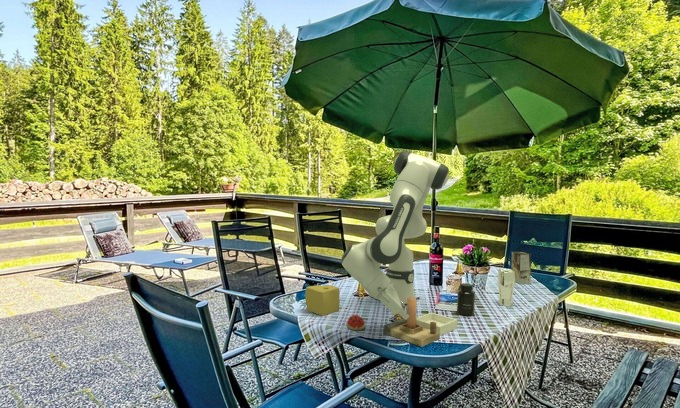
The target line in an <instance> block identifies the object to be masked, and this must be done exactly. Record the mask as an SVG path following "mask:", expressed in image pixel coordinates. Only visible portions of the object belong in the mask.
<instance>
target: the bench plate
mask: <svg viewBox="0 0 680 408" xmlns="http://www.w3.org/2000/svg"><path fill="white" fill-rule="evenodd" d="M382 328H383V329H382V330H383V331H382V333H383V335H385V336H388V337H389V336H392V337H395V338H397V339H400V340H402V341H405V342H407V343H410V344H412V345H415V346H419V347H422V348H423V347H425V346H426V345H429V344H431V343H433V342H436V341H437V340H439V339H440V336H439V333H438V332H436V322H430V330H429V329H425V328H423V326H421V325H418V324H416V328H415V329H410V328H407V320H405V319H404V318H403V317H402V318H400V319H397V320H395V321H392V322H388V323H386V324H384V326H383V327H382Z"/></svg>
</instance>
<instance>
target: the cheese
mask: <svg viewBox="0 0 680 408" xmlns="http://www.w3.org/2000/svg"><path fill="white" fill-rule="evenodd" d="M304 296H305V298H304V299H305V304H306V305H305V307H306V311H307V312H309V311H310V312H309V313H312V312H314V313H313V314H315V313H316V315H318V314H319V316H321V315H322V317H324V316H327V315H329V314H333V313H337V312H339V311H340V297H341V296H340V287H337V286H334V285H330V284H327V285H320V284H319V285H318V284H317V285H310V286H306V288H305V295H304ZM323 315H324V316H323Z"/></svg>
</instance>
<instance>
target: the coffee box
mask: <svg viewBox="0 0 680 408" xmlns="http://www.w3.org/2000/svg"><path fill="white" fill-rule="evenodd" d="M531 261H532V254H531V253H527V252H524V251H511V264H510V265H511V269H510V270H513V271H515V272H514V273H515V283H517V284H519V285H529V284H530V285H531V271H532V270H531V267H532V266H531V265H532V264H531V263H532V262H531Z"/></svg>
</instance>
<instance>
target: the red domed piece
mask: <svg viewBox="0 0 680 408" xmlns="http://www.w3.org/2000/svg"><path fill="white" fill-rule="evenodd" d="M346 327H347V328H348V329H350V330H352V331H361V330H363V329H365V327H366V323H365V321H364V319H363V318H362V316H360V315H359V314H353V315H351V316H350V317H349V318H348V319H347V321H346Z"/></svg>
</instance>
